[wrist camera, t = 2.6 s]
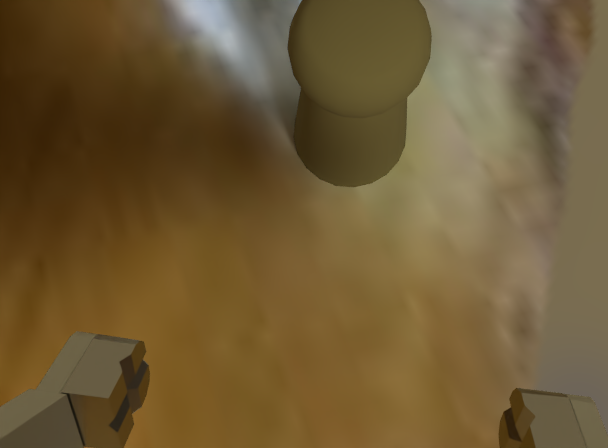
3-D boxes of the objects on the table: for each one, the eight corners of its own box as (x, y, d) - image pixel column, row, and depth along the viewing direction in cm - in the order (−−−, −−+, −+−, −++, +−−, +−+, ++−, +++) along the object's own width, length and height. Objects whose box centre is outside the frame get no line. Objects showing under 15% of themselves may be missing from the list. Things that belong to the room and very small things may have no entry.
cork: (368, 208, 28) (392, 138, 17) (272, 150, 29) (237, 47, 18) (427, 114, 29) (486, -9, 18) (332, 60, 29) (333, -90, 19)
